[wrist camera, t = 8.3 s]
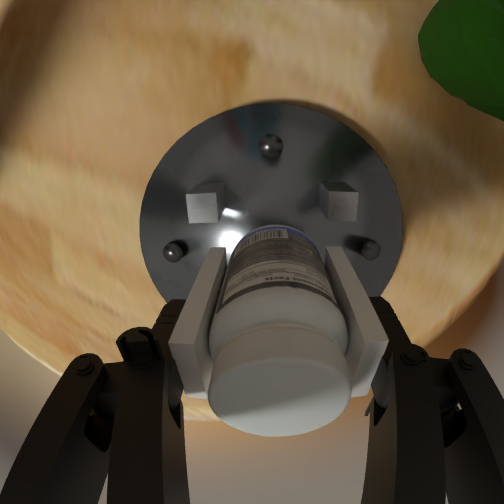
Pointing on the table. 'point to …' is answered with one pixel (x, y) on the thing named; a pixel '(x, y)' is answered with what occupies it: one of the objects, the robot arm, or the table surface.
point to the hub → (269, 194)
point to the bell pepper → (467, 51)
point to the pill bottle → (278, 338)
